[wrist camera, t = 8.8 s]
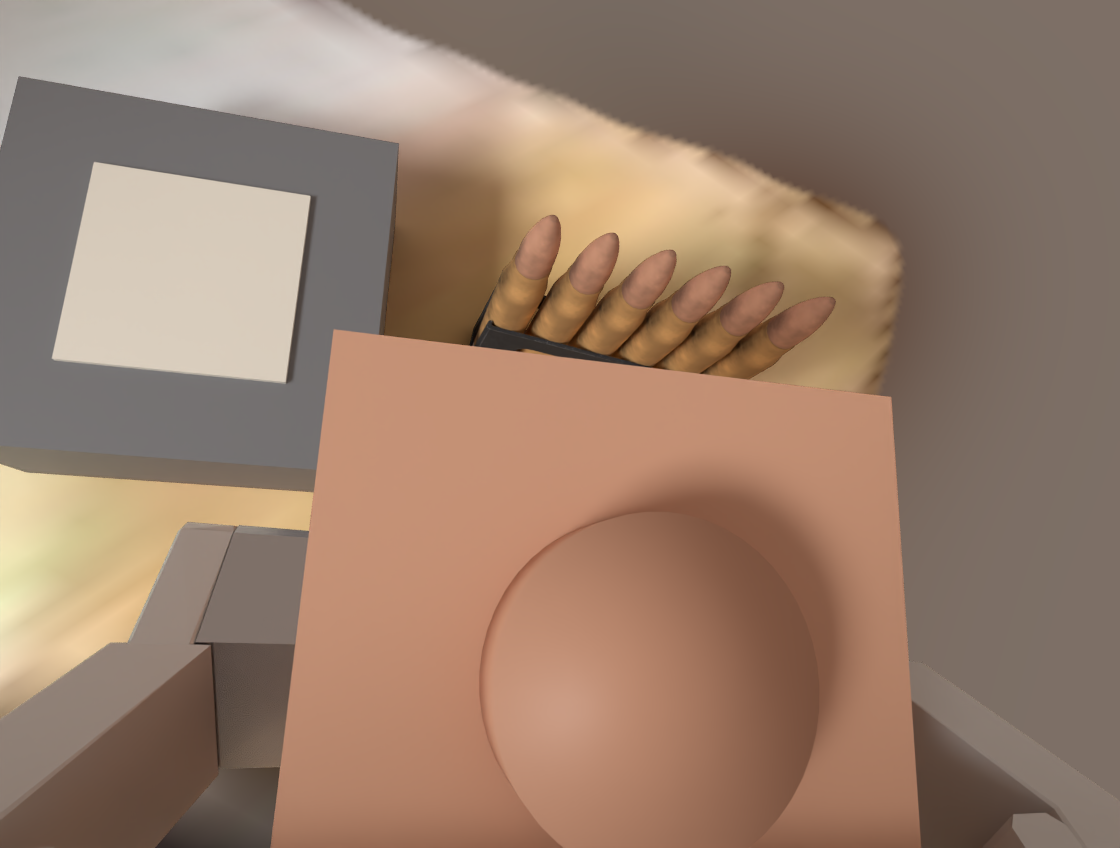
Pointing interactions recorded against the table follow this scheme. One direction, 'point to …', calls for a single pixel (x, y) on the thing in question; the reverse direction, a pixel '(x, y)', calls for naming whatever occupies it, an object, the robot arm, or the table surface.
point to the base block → (180, 285)
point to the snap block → (596, 611)
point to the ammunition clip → (638, 312)
